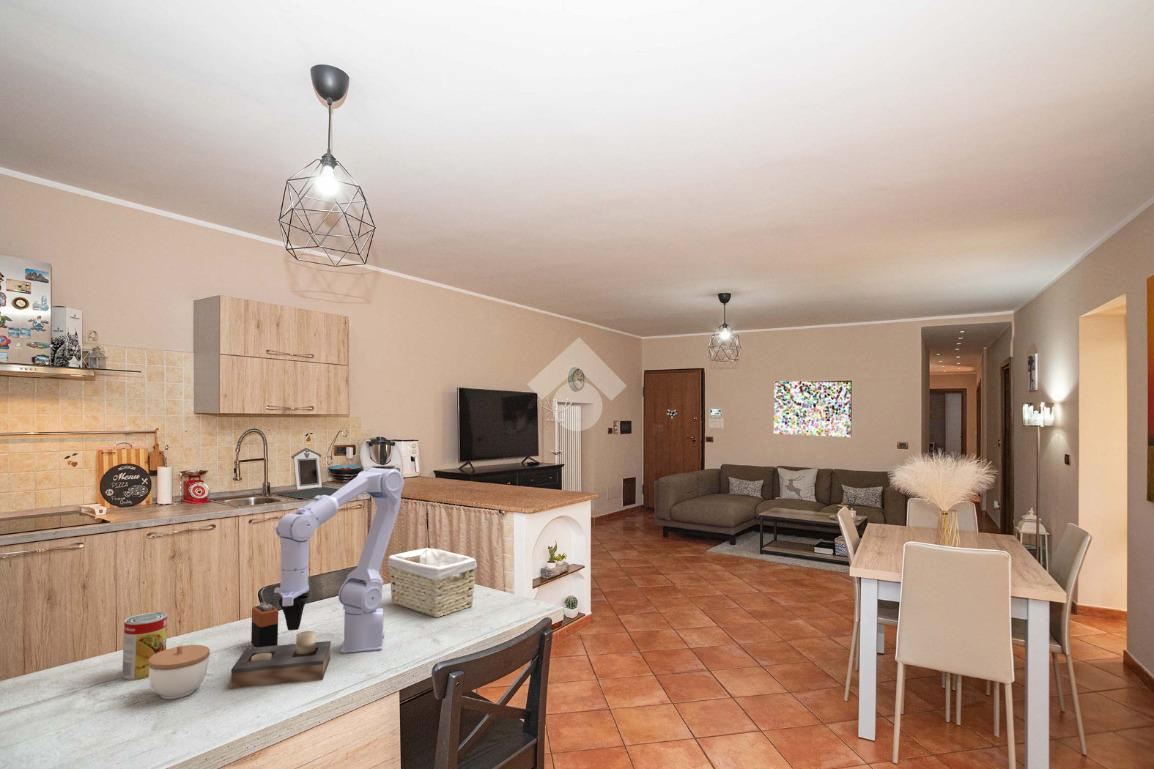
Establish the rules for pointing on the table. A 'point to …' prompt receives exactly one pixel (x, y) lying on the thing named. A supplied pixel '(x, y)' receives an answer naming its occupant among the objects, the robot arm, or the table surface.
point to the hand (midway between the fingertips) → (293, 629)
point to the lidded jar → (178, 670)
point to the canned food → (142, 642)
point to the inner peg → (305, 642)
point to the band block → (280, 666)
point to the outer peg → (261, 657)
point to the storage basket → (432, 581)
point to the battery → (264, 625)
